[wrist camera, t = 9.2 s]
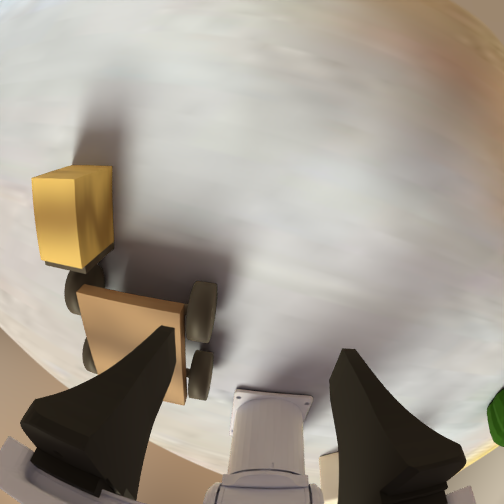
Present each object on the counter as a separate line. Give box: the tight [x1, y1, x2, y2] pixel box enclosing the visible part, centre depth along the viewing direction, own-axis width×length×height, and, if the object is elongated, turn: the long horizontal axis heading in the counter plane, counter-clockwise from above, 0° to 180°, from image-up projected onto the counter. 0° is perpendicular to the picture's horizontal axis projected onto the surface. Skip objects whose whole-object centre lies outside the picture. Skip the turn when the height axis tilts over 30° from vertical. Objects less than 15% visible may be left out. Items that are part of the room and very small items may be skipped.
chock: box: [32, 165, 114, 274], centre depth 19 cm, size 7×4×5 cm, turn 173°
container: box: [319, 452, 339, 504], centre depth 28 cm, size 8×8×13 cm
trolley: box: [65, 264, 217, 405], centre depth 22 cm, size 11×11×5 cm
